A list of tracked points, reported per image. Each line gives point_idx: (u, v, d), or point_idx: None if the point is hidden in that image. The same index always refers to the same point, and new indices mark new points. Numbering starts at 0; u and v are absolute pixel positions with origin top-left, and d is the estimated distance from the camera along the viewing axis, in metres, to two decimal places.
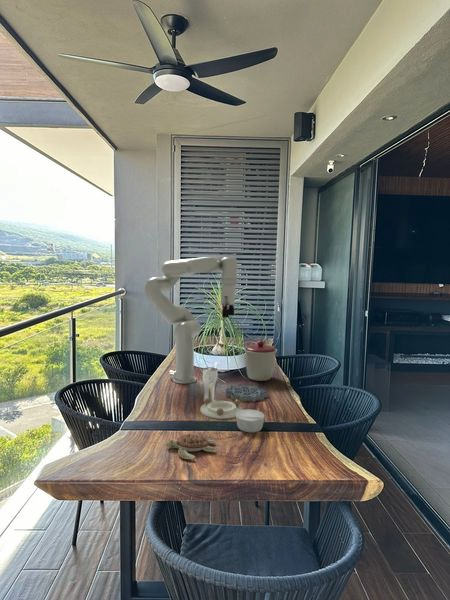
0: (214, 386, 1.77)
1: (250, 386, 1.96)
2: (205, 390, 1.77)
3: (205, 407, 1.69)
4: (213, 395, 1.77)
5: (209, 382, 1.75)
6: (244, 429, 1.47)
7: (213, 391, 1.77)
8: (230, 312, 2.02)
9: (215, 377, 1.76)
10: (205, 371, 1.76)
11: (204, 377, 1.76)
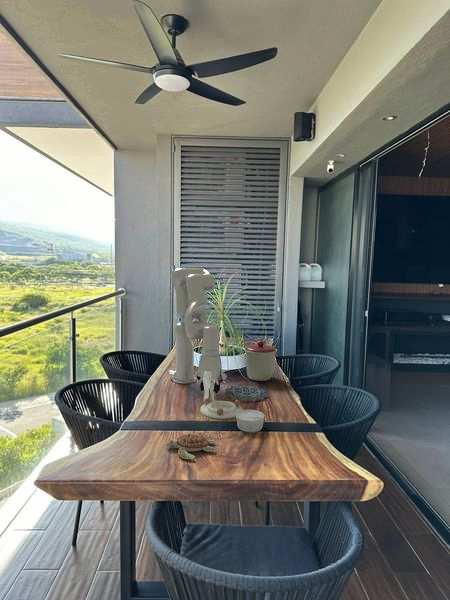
0: (214, 386, 1.77)
1: (250, 386, 1.96)
2: (205, 390, 1.77)
3: (205, 407, 1.69)
4: (213, 395, 1.77)
5: (209, 382, 1.75)
6: (244, 429, 1.47)
7: (213, 391, 1.77)
8: None
9: None
10: (205, 371, 1.76)
11: (204, 377, 1.76)
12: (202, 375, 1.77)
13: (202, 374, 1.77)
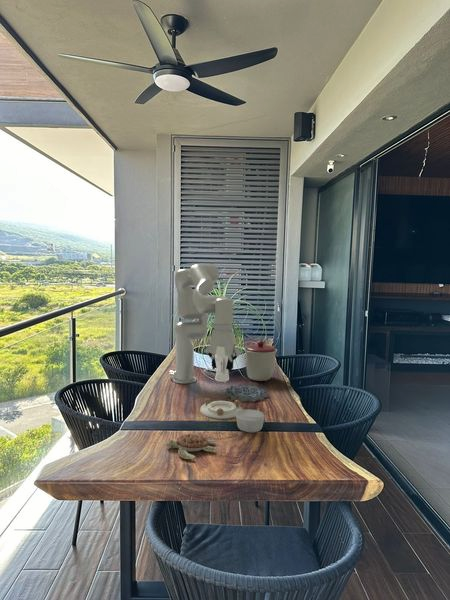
0: (227, 363, 1.64)
1: (250, 386, 1.96)
2: (217, 367, 1.65)
3: (205, 407, 1.69)
4: (226, 373, 1.65)
5: (222, 359, 1.63)
6: (244, 429, 1.47)
7: (226, 369, 1.64)
8: None
9: None
10: (217, 347, 1.63)
11: (216, 353, 1.64)
12: (214, 351, 1.64)
13: (214, 350, 1.64)
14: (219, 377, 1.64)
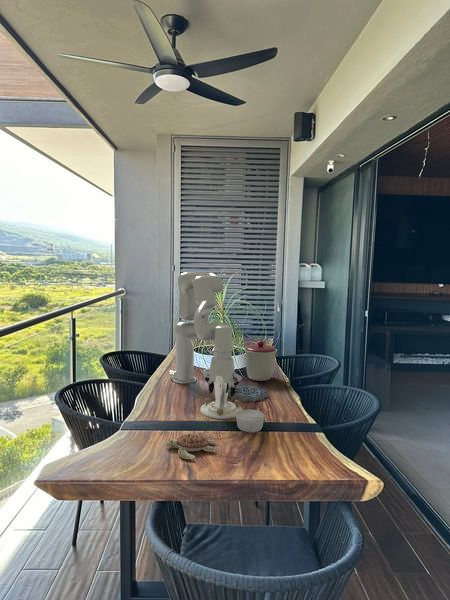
0: (226, 392, 1.65)
1: (250, 386, 1.96)
2: (216, 397, 1.66)
3: (205, 407, 1.69)
4: (225, 402, 1.66)
5: (221, 388, 1.64)
6: (244, 429, 1.47)
7: (225, 398, 1.66)
8: (212, 389, 1.69)
9: (227, 383, 1.65)
10: (216, 376, 1.65)
11: (215, 383, 1.65)
12: (214, 379, 1.65)
13: (214, 377, 1.65)
14: (218, 406, 1.66)
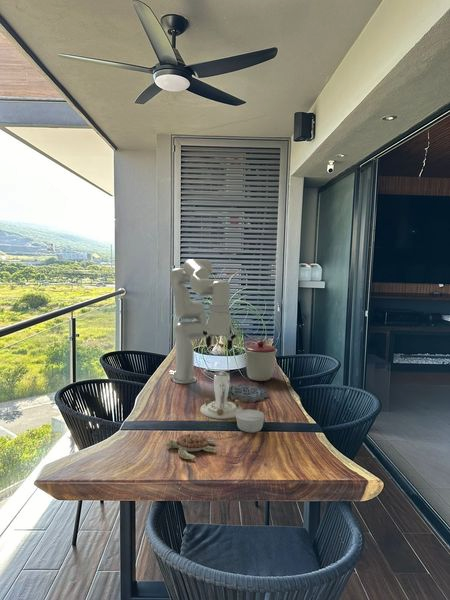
0: (226, 392, 1.65)
1: (250, 386, 1.96)
2: (216, 397, 1.66)
3: (205, 407, 1.69)
4: (225, 402, 1.66)
5: (221, 388, 1.64)
6: (244, 429, 1.47)
7: (225, 398, 1.66)
8: (209, 343, 1.75)
9: (227, 383, 1.65)
10: (216, 376, 1.65)
11: (215, 383, 1.65)
12: (211, 332, 1.71)
13: (211, 331, 1.71)
14: (218, 406, 1.66)
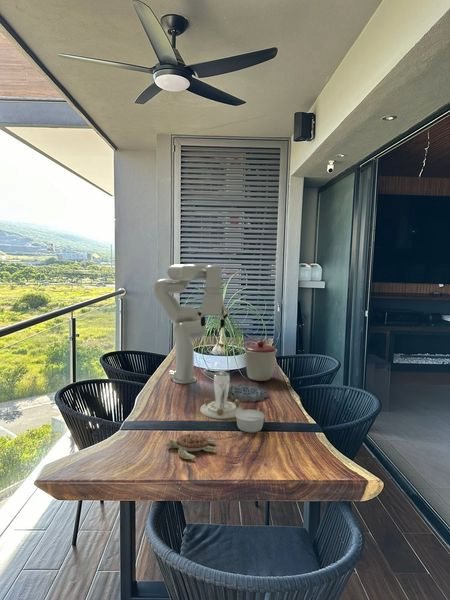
0: (226, 392, 1.65)
1: (250, 386, 1.96)
2: (216, 397, 1.66)
3: (205, 407, 1.69)
4: (225, 402, 1.66)
5: (221, 388, 1.64)
6: (244, 429, 1.47)
7: (225, 398, 1.66)
8: (203, 323, 1.91)
9: (227, 383, 1.65)
10: (216, 376, 1.65)
11: (215, 383, 1.65)
12: (205, 312, 1.87)
13: (205, 311, 1.87)
14: (218, 406, 1.66)
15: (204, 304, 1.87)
